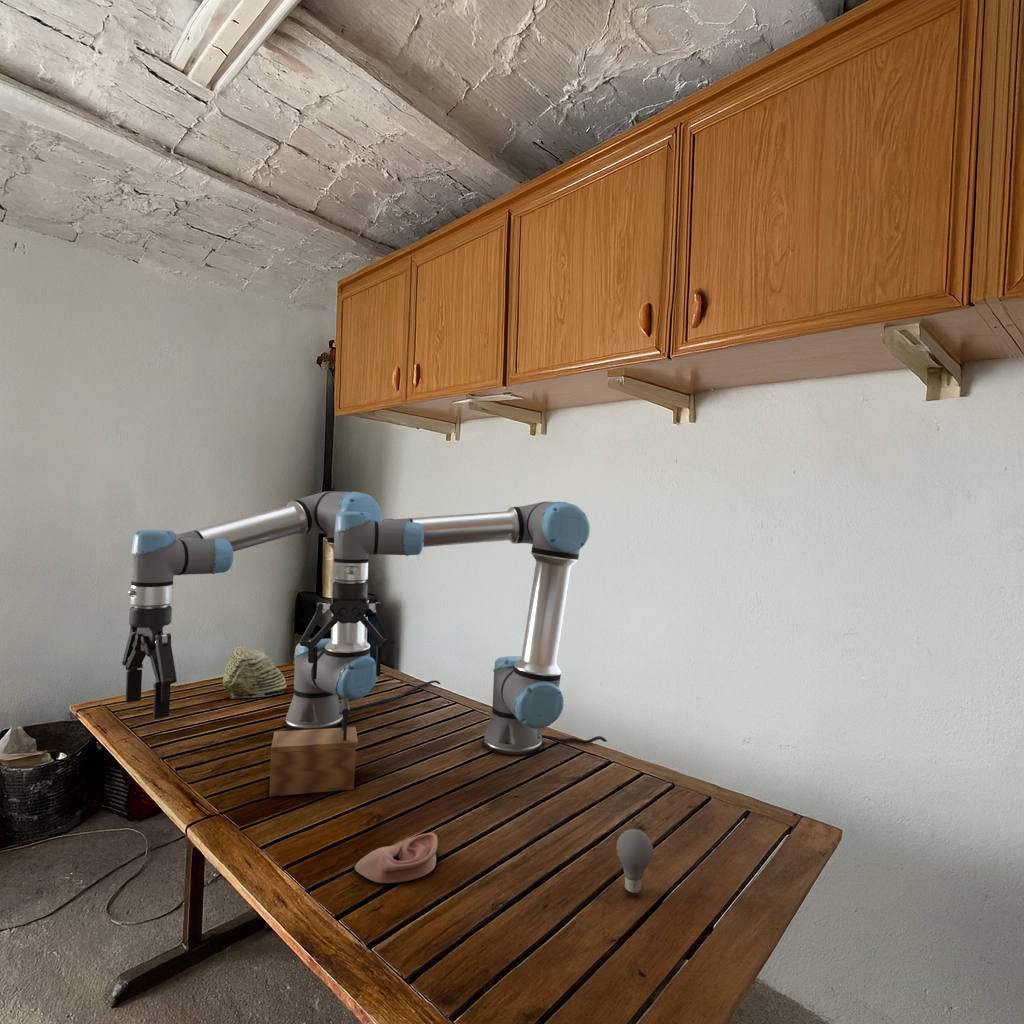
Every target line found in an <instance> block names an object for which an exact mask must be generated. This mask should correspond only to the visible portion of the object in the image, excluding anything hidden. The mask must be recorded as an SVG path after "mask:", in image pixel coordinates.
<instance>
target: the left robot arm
mask: <svg viewBox="0 0 1024 1024" xmlns="http://www.w3.org/2000/svg"><path fill="white" fill-rule="evenodd" d="M342 511H352V512H368V513H369V514H370V518H371V521H377V522H381V521H383V514H382V509H381V507H380V505H379V503H378V501H376V499H375V498H374V497H372V496H371V495H370V494H368V493H364V492H359V491H337V490H336V491H335V490H328V491H321V492H319V493H315V494H312V495H309V496H305V497H302V498H298V499H295V500H290V501H289V502H287V504H286V505H285V506H283V507H279V508H275V509H271V510H267V511H263V512H259V513H256V514H251V515H247V516H243V517H239V518H236V519H232V520H228V521H224V522H220V523H217V524H213V525H212V524H211V525H209V526H204V527H200V528H198V529H194V530H189V531H186V532H182V533H175V531H174V530H170V529H169V530H168V529H140V530H137V531H136V532H135V533H134V535H133V538H132V546H131V553H130V554H131V571H130V572H131V575H130V577H131V581H130V590H129V591H128V592H127V595H128V596H129V597H130V598H129V604H130V605H132V606H130V608H129V615H128V624H129V635H128V638H127V642H126V646H125V649H124V654H123V657H122V661H121V664H122V665H121V666H124V668H125V670H126V678H125V679H126V681H125V682H126V683H125V703H126V704H130V703H134V702H135V703H136V702H140V701H141V700H142V682H143V669H144V665H143V662H144V660H145V658H146V657H149V659H150V660H149V661H150V664H151V667H152V671H153V674H154V678H155V683H153V685H152V686H153V711H152V719H153V720H158V719H162V718H167V717H170V706H171V705H170V704H171V703H170V702H171V685H173V684H176V683H177V682H178V679H177V672H176V667H175V659H174V653H173V649H172V648H173V647H172V634H171V633H170V632H169V633H164V627H165V626H168V625H170V624H171V623H172V618H173V617H172V614H173V608H172V606H171V605H172V603H173V598H174V597H173V596H174V576H182V575H183V576H185V575H211V574H212V575H215V574H221V573H222V574H223V573H227V572H228V571H230V569H231V568H232V566H233V563H234V552H237V551H241V550H245V549H247V548H251V547H255V546H258V545H261V544H265V543H268V542H272V541H275V540H278V539H282V538H286V537H289V536H292V535H296V536H297V537H302V536H305V535H309V534H311V535H312V534H326V544H327V545H328V546H329V547H330V548H331V549H332V563H333V562H334V531H335V521H336V515H337V514H338V513H339V512H342ZM331 573H332V576H331V578H332V580H331V590H332V589H333V583H334V582H335V581H336V580H334V579H333V572H331ZM365 582H367V580H365ZM332 616H333V614H332V613H331V617H332ZM364 616H365V617H366V614H365V615H364ZM365 632H366V627H365V626H364V625H363V624H362V623H361V621H359V622H357V623H346V624H342V623H340V622H337V623H336V624H335V625H334V626H333V627H332V628H331V629H330V638H322V639H321V640H320V641H319V643H318V644H317V645H316V646H318V653H317V679H313V663H309V662H308V648H307V647H305V646H301V645H300V642H299V643H297V645H296V646H295V650H294V655H293V657H294V672H293V673H294V674H293V695H292V696H293V697H292V699H291V702H290V704H289V708H288V711H287V713H286V715H285V726H286V728H287V729H289V730H291V731H295V730H312V729H329V728H338V727H339V726H340V725H342V719H343V715H342V711H341V701H340V699H343V698H347V699H348V700H349V701H357V700H360V699H362V698H364V697H365V696H367V695H368V694H369V693H370V692H371V690H372V689H373V688H374V687H375V685H376V683H377V681H378V678H379V677H377V676H376V660H375V659H374V658H373V657H371V644H370V643H369V642H368V641H367V640H366V639H365V636H366V633H365ZM308 640H309V641H311V640H312V639H308ZM434 683H436V684H437V685H441V682H440V681H439V680H436V679H435V680H430V681H427V682H424V683H422V684H419V685H417V686H415V687H413V688H411V689H409V690H406V691H405V692H402V693H401V694H399V695H395V696H393V697H390V698H386V699H382V700H378V701H374V702H371V703H367V704H362V705H357V706H349V707H350V711H351V710H352V711H353V710H359V709H364V708H367V707H372V706H376V705H379V704H383V703H387V702H391V701H394V700H396V699H400V698H401V697H402V698H403V697H404V696H405V695H408V694H409V693H412V692H414V691H416V690H417V689H419V688H422V687H425V686H427V685H430V684H434ZM339 698H340V699H339Z"/></svg>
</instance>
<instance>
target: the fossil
mask: <svg viewBox="0 0 1024 1024" xmlns="http://www.w3.org/2000/svg"><path fill="white" fill-rule="evenodd" d="M222 676H223V677H222V685H223V687H224V688H225V690H226V691H228V693H229V698H230V699H250V698H264V697H271V696H275V695H281V694H284V693H285V691H286V689H287V687H288V686H287V680H286V678H285V676H284V674H283V673H282V672H281V669H279V668H278V667H277V665H276V663H275V662H274V660H273V659H272V658H271V657H270V656H269V655H268V654H267V653H266V652H265V650H264V649H263V648H260V647H258V648H251V647H247V646H246V647H245V646H238V647H237V648H236V649H235V650H233V651H232V653H231V656H230V657H229V659H228V660H227V663H226V666H225V668H224V671H223V675H222Z"/></svg>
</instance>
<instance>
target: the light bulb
mask: <svg viewBox="0 0 1024 1024" xmlns="http://www.w3.org/2000/svg"><path fill="white" fill-rule="evenodd" d="M615 849H616V854H617V857H618V859H619V861H620V863H621V865H622V867H623V873H624V874H623V875H624V876H625V878H624V888H625V890H627V891H628V892H630V893H634V894H635V893H639V892H640V891H641V889H642V887H641V886H642V879H643V877H644V875H645V871H646V868H647V867H648V866H649V864H650V863H651V861H652V859H653V855H654V847H653V843H652V841H651V838H649V836H648V835H647V834H646V833H645V832H643V831H642V830H641V829H636V828H629V829H627V830H625V831H623V832H622V833H621V834H620V835H619V837H618V839H617V841H616V847H615Z"/></svg>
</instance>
